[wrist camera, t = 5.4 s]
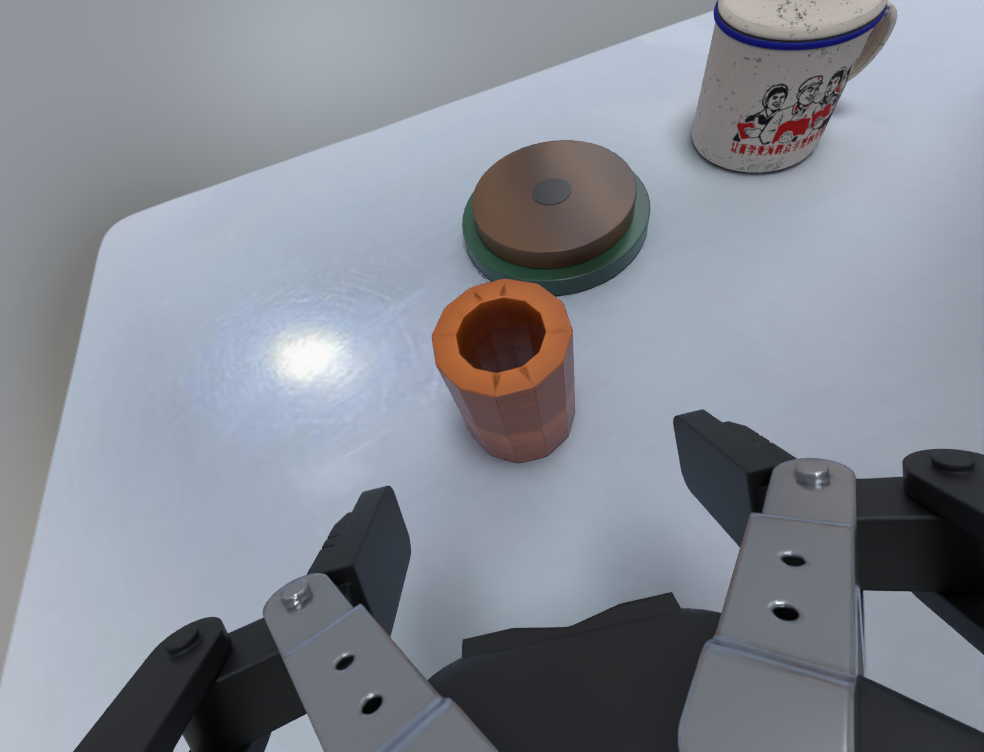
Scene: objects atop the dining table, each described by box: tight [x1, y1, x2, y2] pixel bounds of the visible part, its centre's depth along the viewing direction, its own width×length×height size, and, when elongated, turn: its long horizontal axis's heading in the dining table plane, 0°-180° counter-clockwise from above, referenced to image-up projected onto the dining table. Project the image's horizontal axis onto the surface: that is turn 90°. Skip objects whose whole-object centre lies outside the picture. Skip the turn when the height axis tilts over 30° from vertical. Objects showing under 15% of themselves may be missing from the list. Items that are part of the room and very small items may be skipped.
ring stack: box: [462, 140, 650, 296], centre depth 33 cm, size 13×13×3 cm
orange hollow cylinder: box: [432, 279, 575, 463], centre depth 24 cm, size 6×6×8 cm
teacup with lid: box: [692, 0, 897, 173], centre depth 30 cm, size 12×9×12 cm
